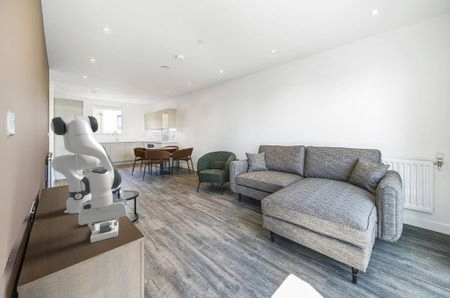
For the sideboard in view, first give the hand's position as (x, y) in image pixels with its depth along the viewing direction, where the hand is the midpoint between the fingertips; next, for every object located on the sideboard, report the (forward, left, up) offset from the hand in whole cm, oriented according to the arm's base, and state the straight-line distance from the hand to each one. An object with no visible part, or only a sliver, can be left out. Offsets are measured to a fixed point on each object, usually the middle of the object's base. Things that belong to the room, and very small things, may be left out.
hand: (104, 228), depth 94 cm
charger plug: (0, 0, -4) cm, 4 cm away
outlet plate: (-3, 0, -4) cm, 5 cm away
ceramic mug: (-22, -7, -4) cm, 23 cm away
